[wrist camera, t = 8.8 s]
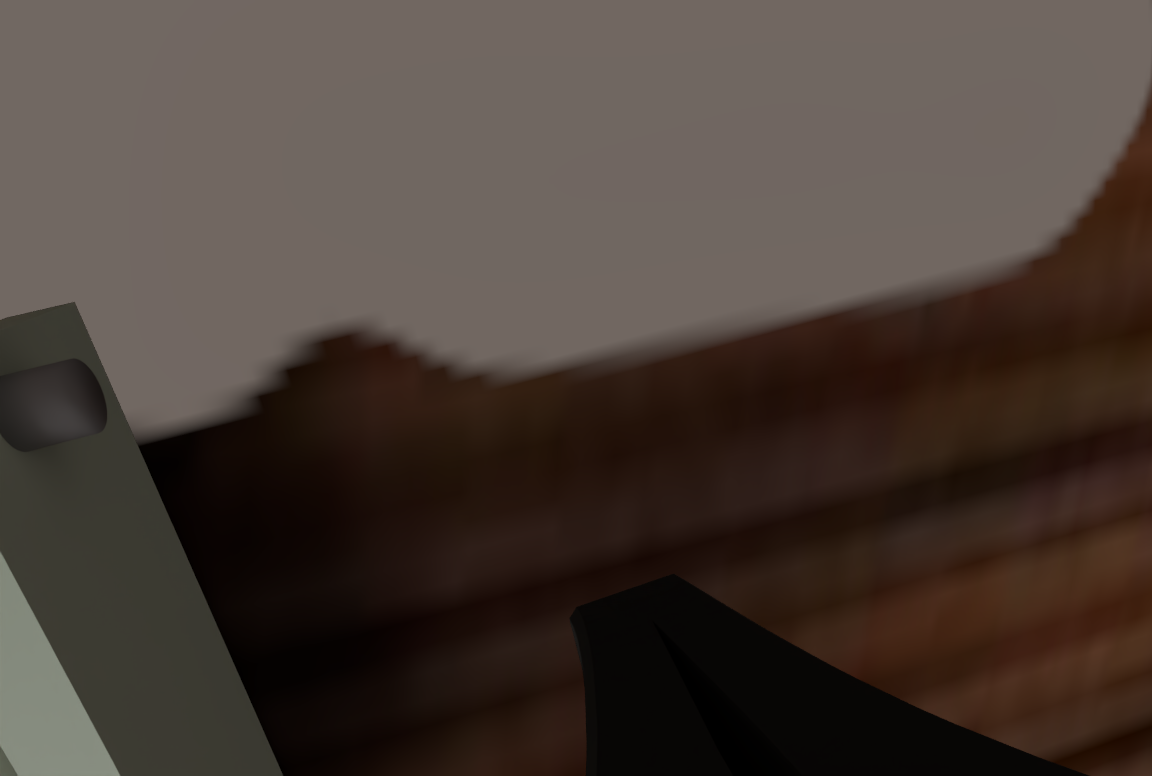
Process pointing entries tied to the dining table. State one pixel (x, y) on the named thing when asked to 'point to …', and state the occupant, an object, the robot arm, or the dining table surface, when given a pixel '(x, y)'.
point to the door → (100, 586)
